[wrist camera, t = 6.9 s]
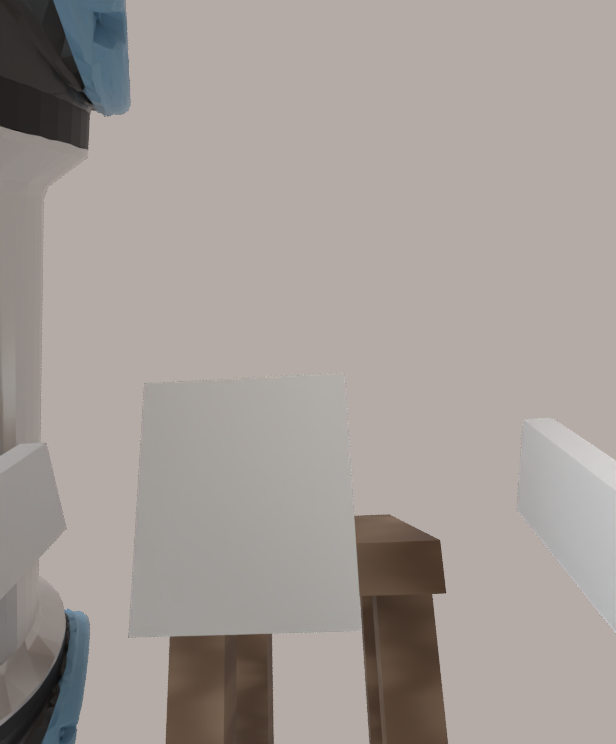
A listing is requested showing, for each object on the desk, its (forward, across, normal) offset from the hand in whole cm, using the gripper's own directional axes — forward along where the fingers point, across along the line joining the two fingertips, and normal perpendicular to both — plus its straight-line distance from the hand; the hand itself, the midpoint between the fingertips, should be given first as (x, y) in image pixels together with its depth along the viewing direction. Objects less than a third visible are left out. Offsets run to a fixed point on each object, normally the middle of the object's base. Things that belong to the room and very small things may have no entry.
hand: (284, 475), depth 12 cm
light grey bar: (+7, 0, -7) cm, 10 cm away
